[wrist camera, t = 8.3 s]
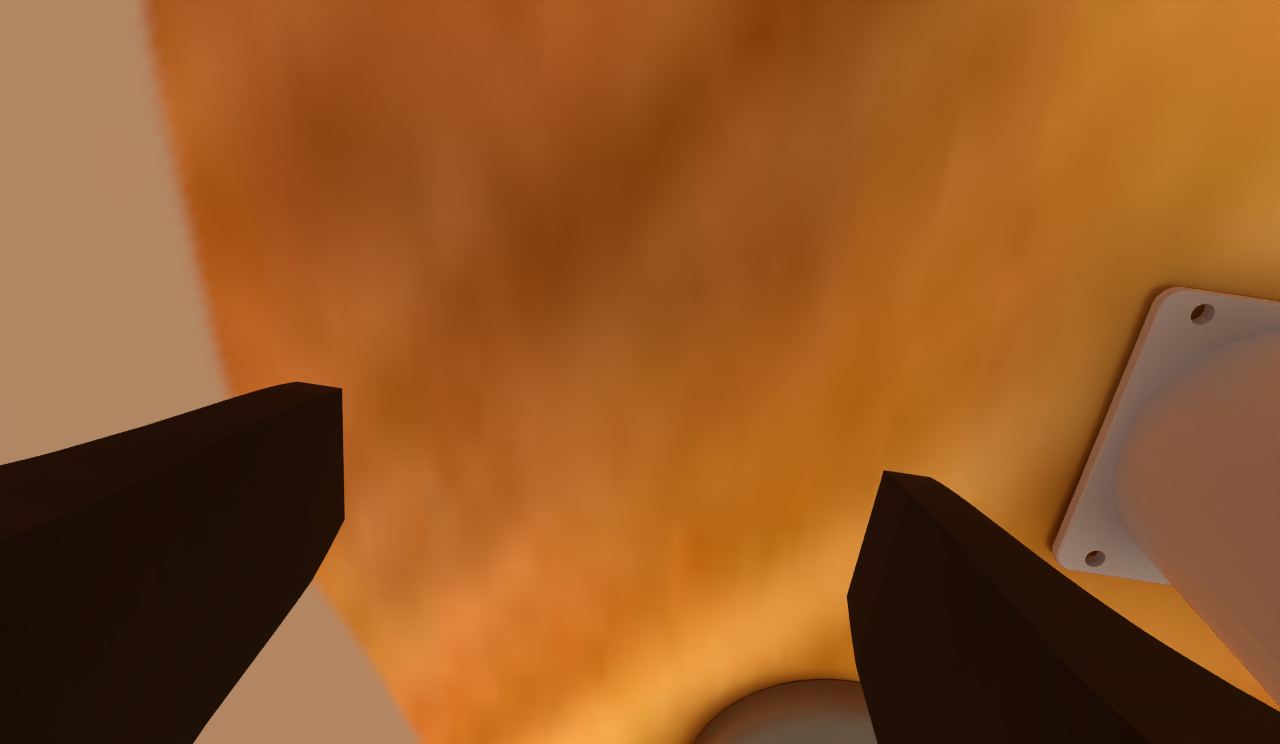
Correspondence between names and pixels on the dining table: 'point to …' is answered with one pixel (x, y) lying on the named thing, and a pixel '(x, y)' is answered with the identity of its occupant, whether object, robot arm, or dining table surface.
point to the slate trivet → (795, 716)
